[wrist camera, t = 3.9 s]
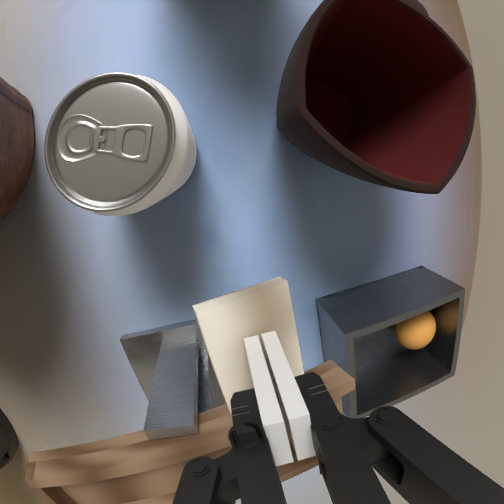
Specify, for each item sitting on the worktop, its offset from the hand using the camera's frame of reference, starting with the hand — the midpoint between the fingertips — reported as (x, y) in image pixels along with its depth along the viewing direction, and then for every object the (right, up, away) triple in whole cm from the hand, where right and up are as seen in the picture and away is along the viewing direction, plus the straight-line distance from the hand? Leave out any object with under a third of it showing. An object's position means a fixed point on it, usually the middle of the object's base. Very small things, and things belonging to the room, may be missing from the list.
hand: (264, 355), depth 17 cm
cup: (+5, +18, +6) cm, 20 cm away
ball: (+13, -2, +8) cm, 16 cm away
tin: (+11, -1, +12) cm, 16 cm away
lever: (-5, -5, +1) cm, 7 cm away
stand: (-6, -6, +11) cm, 13 cm away
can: (-8, +13, +6) cm, 16 cm away
